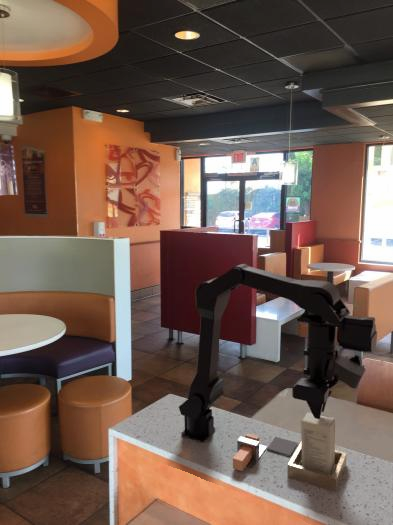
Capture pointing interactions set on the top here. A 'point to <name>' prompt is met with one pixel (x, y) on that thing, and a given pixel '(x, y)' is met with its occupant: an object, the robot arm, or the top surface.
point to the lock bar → (244, 454)
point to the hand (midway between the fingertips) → (319, 414)
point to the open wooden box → (315, 476)
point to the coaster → (282, 446)
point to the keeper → (257, 449)
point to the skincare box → (318, 443)
